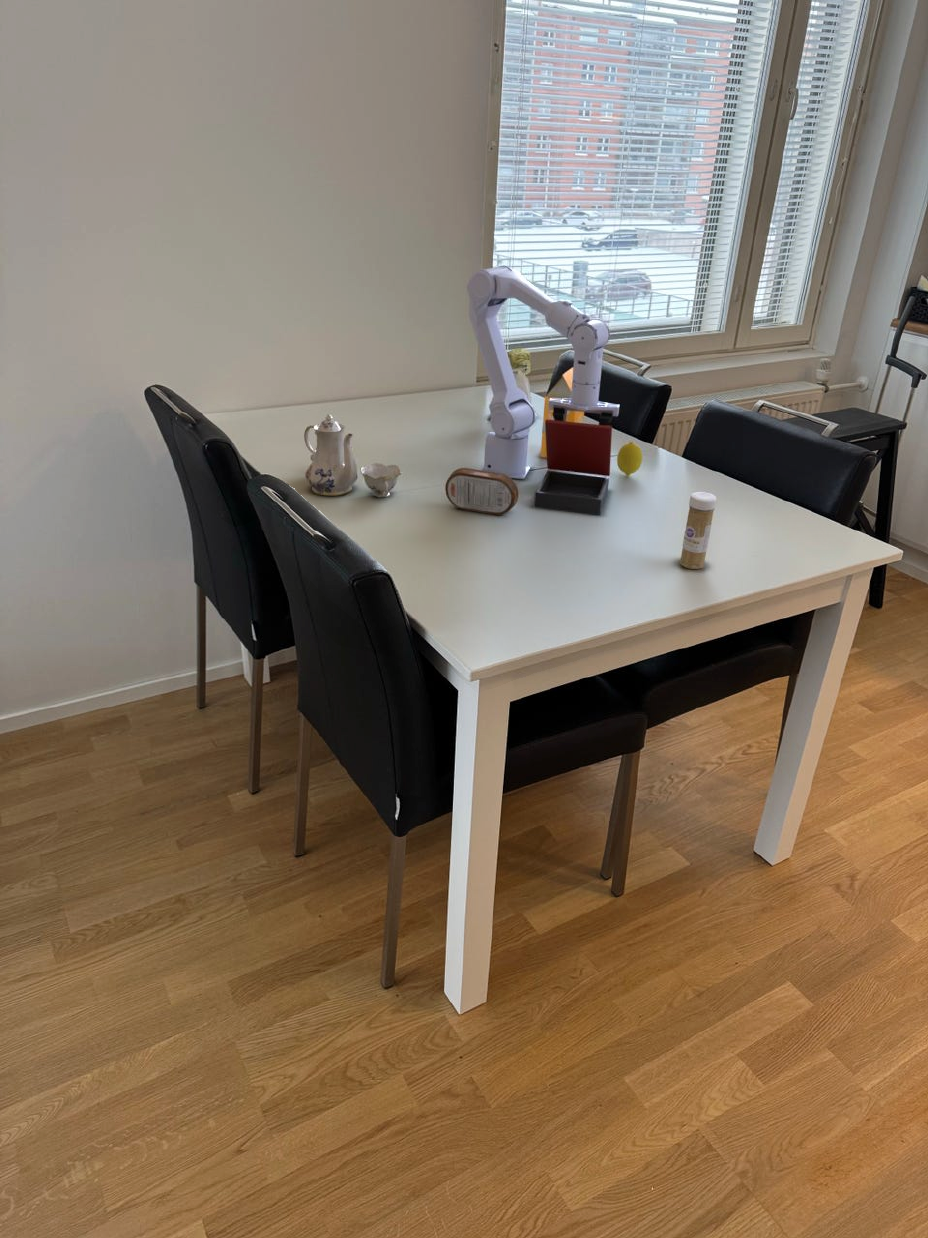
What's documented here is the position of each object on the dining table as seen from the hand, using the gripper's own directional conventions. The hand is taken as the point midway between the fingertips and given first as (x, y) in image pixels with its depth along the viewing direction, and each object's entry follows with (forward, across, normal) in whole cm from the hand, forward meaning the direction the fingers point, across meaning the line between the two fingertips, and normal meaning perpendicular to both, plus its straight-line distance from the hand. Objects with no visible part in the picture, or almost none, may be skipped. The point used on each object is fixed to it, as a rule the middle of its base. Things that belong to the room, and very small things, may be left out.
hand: (580, 445), depth 194 cm
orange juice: (+10, -7, +23) cm, 26 cm away
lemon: (+10, +10, +13) cm, 20 cm away
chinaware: (+10, -48, -14) cm, 51 cm away
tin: (+10, -17, -19) cm, 27 cm away
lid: (0, 0, -3) cm, 3 cm away
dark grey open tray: (+10, 0, -6) cm, 12 cm away
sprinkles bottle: (+10, +26, -32) cm, 42 cm away
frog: (+10, -24, +49) cm, 56 cm away
